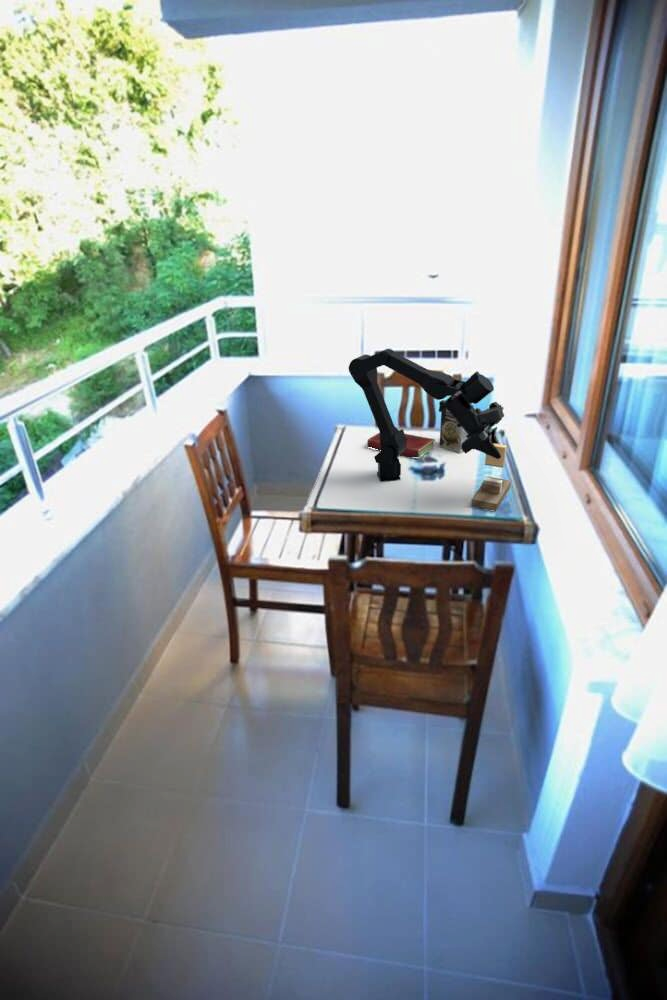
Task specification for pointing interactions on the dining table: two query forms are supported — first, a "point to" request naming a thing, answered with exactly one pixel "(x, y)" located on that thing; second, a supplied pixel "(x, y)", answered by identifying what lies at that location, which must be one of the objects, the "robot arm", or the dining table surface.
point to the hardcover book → (414, 445)
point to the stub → (493, 461)
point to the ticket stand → (490, 493)
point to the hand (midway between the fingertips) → (500, 456)
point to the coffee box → (451, 433)
